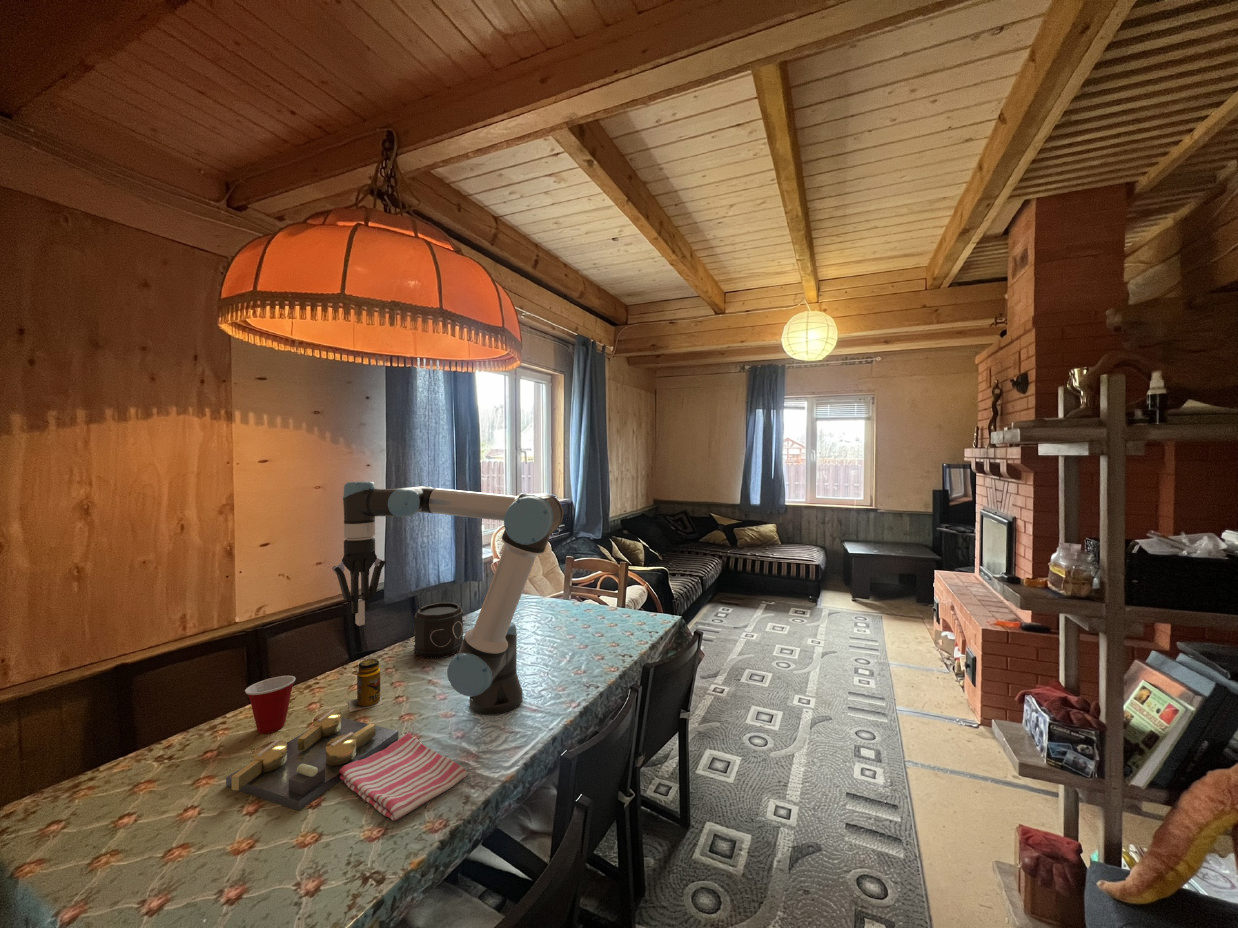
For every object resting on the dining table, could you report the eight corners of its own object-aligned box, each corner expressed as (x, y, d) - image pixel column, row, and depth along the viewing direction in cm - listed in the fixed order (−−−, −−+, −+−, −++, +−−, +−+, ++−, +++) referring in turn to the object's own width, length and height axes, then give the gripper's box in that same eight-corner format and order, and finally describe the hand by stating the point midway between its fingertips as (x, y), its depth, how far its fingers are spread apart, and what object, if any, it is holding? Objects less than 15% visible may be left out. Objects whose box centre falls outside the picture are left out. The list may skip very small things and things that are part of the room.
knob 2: (324, 723, 122) (324, 707, 122) (346, 724, 121) (346, 708, 121) (289, 750, 110) (289, 733, 110) (313, 752, 110) (313, 734, 110)
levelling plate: (398, 738, 119) (398, 731, 119) (299, 810, 94) (299, 801, 94) (334, 723, 126) (334, 715, 126) (226, 786, 101) (226, 777, 101)
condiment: (383, 704, 136) (383, 663, 136) (349, 712, 131) (349, 670, 131) (380, 694, 142) (380, 654, 142) (347, 701, 137) (347, 661, 137)
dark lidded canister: (475, 647, 178) (475, 605, 178) (434, 664, 163) (434, 619, 163) (445, 637, 188) (445, 598, 188) (403, 652, 173) (403, 610, 173)
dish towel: (409, 743, 117) (409, 729, 117) (468, 779, 104) (468, 763, 104) (336, 781, 103) (336, 765, 103) (394, 828, 89) (395, 810, 89)
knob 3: (339, 767, 104) (339, 749, 104) (319, 762, 106) (319, 744, 106) (382, 738, 115) (382, 721, 115) (363, 733, 117) (363, 717, 117)
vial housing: (326, 779, 100) (326, 761, 100) (304, 795, 96) (304, 775, 96) (309, 774, 102) (309, 756, 102) (287, 789, 97) (286, 770, 97)
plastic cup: (285, 712, 131) (284, 670, 131) (303, 724, 125) (303, 679, 125) (237, 731, 122) (237, 685, 122) (255, 744, 116) (255, 696, 116)
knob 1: (269, 754, 109) (269, 737, 109) (293, 756, 108) (293, 738, 108) (221, 790, 97) (221, 770, 97) (248, 791, 96) (248, 772, 96)
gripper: (379, 533, 135) (380, 615, 135) (328, 539, 125) (328, 627, 125) (389, 536, 130) (390, 621, 130) (337, 542, 120) (337, 633, 120)
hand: (360, 624), depth 128 cm, fingers closed
